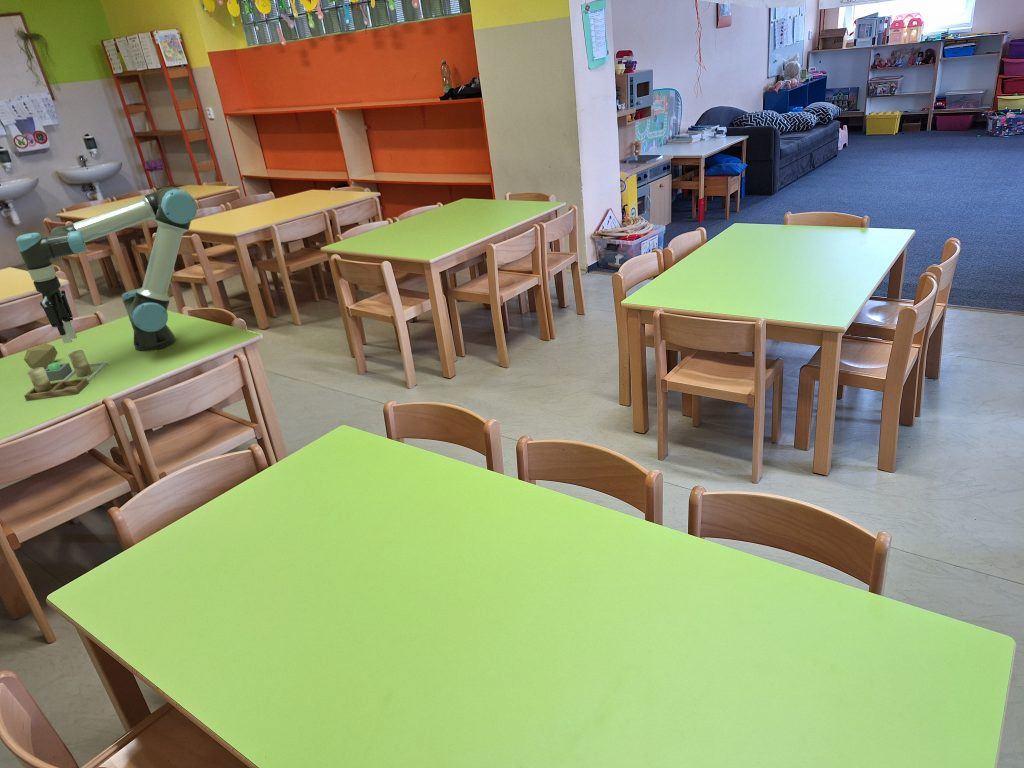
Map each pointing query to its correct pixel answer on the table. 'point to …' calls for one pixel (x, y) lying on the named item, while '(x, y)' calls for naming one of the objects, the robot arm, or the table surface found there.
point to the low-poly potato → (40, 356)
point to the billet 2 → (80, 363)
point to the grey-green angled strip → (101, 364)
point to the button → (54, 366)
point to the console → (59, 372)
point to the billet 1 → (40, 380)
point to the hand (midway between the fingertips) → (70, 340)
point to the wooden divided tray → (59, 389)
